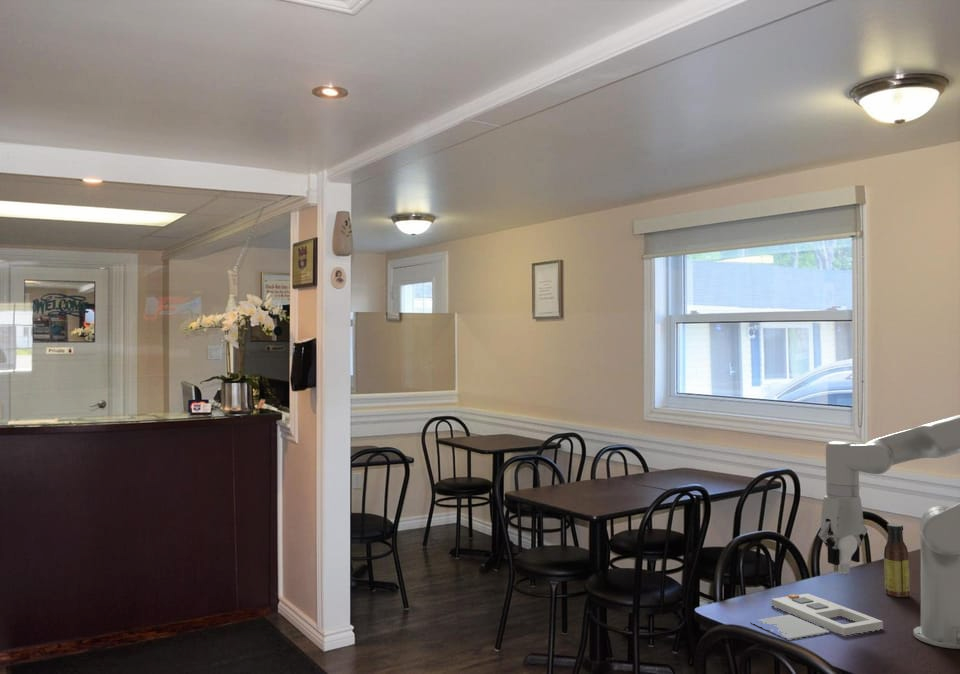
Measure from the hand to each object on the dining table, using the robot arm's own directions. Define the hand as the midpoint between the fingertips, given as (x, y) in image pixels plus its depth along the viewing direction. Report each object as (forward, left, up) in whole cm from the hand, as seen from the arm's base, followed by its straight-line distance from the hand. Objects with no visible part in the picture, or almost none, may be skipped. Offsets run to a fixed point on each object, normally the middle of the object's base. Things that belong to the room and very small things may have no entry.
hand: (843, 561), depth 198 cm
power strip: (+6, 0, -16) cm, 17 cm away
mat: (+3, +15, -16) cm, 22 cm away
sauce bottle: (+12, -34, -16) cm, 39 cm away
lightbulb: (0, 0, -3) cm, 3 cm away
